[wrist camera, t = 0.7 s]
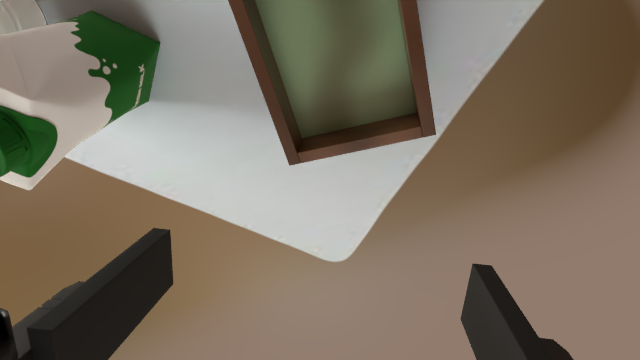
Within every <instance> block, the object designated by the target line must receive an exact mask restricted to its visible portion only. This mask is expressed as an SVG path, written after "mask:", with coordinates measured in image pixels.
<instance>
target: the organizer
mask: <svg viewBox="0 0 640 360" xmlns="http://www.w3.org/2000/svg"><path fill="white" fill-rule="evenodd" d="M228 1H229V4H230V6H231V9H232V12H233V14H234V17H235V20H236V23H237V25H238V28H239V31H240V33H241V36H242V39H243V41H244V44H245V47H246V50H247V52H248V55H249V58H250V60H251V63H252V66H253V68H254V71H255V74H256V76H257V79H258V82H259V85H260V87H261V90H262V93H263V95H264V98H265V101H266V103H267V106H268V109H269V111H270V114H271V117H272V120H273V122H274V125H275V128H276V130H277V133H278V136H279V138H280V141H281V144H282V146H283V149H284V152H285V155H286V157H287V160H288V163H289V165H294V164H299V163H304V162H309V161H313V160H318V159H323V158H327V157H332V156H337V155H342V154H346V153H351V152H356V151H361V150H365V149H370V148H375V147H380V146H384V145H389V144H394V143H399V142H403V141H408V140H413V139H418V138H422V137H427V136H432V135H436V132H435V125H434V118H433V111H432V104H431V97H430V90H429V83H428V76H427V70H426V63H425V56H424V49H423V42H422V35H421V28H420V21H419V14H418V7H417V0H228Z"/></svg>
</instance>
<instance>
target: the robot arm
mask: <svg viewBox="0 0 640 360" xmlns="http://www.w3.org/2000/svg"><path fill="white" fill-rule="evenodd" d="M172 285H173V271H172V254H171V237H170V230H166V229H158V228H157V229H156V228H153V229H152V230H151V231H149V232H148V233H147V234H145V235H144V236H143V237H142V238H140V239H139V240H138V241H137V242H135V243H134V244H133V245H131V246H130V247H129V248H128V249H126V250H125V251H124V252H123V253H121V254H120V255H119V256H117V257H116V258H115V259H114V260H112V261H111V262H110V263H109V264H107V265H106V266H105V267H103V268H102V269H101V270H99V271H98V272H97V273H96V274H94V275H93V276H92V277H91V278H89V279H88V280H87V281H86V282H80V281H79V282H77V283H75V284H73V285H70V286H68V287H66V288H64V289H62V290H61V291H60V292H58V293H57V294H56V295H54V296H53V297H52V298H51V300H48V301H47V302H45V303H44V304H42V305H41V307H39V308H37V309H36V310H34V311H33V312H32V313H30V314H29V315H28V316H26V317H25V318H24V319H23V320H21V321H20V322H18V323H17V324H16V325H14V326H13V327H12V325H11V321H10V317H9V313H8V311H7V310H4V309H2V308H0V360H108V359H109V358H110V357H111V355H112V354H113V353H114V352H115V351H116V350H117V348H118V347H119V346H120V345H121V344H122V343H123V342H124V340H125V339H126V338H127V337H128V336H129V335H130V333H131V332H132V331H133V330H134V329H135V327H136V326H137V325H138V324H139V323H140V322H141V321H142V319H143V318H144V317H145V316H146V315H147V314H148V312H149V311H150V310H151V309H152V308H153V307H154V306H155V304H156V303H157V302H158V301H159V300H160V298H161V297H162V296H163V295H164V294H165V293H166V292H167V290H168V289H169V288H170V287H171V286H172ZM461 321H462V324H463V326H464V329H465V331H466V334H467V336H468V339H469V342H470V344H471V347H472V349H473V351H474V354H475V357H476V359H477V360H573V359H572V357H571V356H570V354H569V353H568V352H567V351H566V350H565V349H564V348H563V347H561V346H560V345H559V344H557V342H555V341H554V340H552V339H544V338H539V337H538V336H537V334H536V332H535V331H534V330H533V328H532V326H531V325H530V323H529V322H528V320H527V319H526V317H525V316H524V314H523V313H522V311H521V310H520V308H519V307H518V305H517V304H516V302H515V301H514V299H513V298H512V296H511V294H510V293H509V291H508V290H507V288H506V287H505V285H504V284H503V282H502V281H501V279H500V278H499V276H498V275H497V273H496V272H495V270H494V269H493V267H492V266H490V265H481V264H472V269H471V274H470V278H469V283H468V287H467V292H466V297H465V301H464V306H463V311H462V316H461Z"/></svg>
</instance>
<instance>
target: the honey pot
mask: <svg viewBox="0 0 640 360" xmlns="http://www.w3.org/2000/svg"><path fill="white" fill-rule="evenodd" d="M45 25H47V23H46V20H45V18H44V15H43V13H42V11H41V10H40V8H39V6H38V5H37V3H36V1H35V0H0V35H4V34H9V33H13V32H18V31H22V30H27V29H32V28H36V27H40V26H45Z"/></svg>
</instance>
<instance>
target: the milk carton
mask: <svg viewBox="0 0 640 360" xmlns="http://www.w3.org/2000/svg"><path fill="white" fill-rule="evenodd" d="M159 46H160V42H159V41H156V40H154V39H152V38H150V37H148V36H146V35H143V34H141V33H139V32H137V31H135V30H133V29H130V28H128V27H126V26H124V25H122V24H120V23H117V22H115V21H113V20H111V19H109V18H107V17H104V16H102V15H100V14H98V13H96V12H94V11H89V12H87V13H84V14H81V15H79V16H76V17H74V18H71V19H68V20H66V21H63V22H58V23H54V24H49V25H45V26H40V27H36V28H32V29H27V30H22V31H18V32H13V33H9V34H4V35H0V180H2V181H5V182H7V183H10V184H13V185H15V186H18V187H21V188H24V189H26V190H31V189H32V188H33V187H34V186H35V185H36V184H37V183H38V182H39V181H40V180H41V179H42V178H43V177H44V176H45V175H46V174H47V173H48V172H49V171H50V170H51V169H52V168H53V167H54V166H55V165H56V164H57V163H58V162H59V161H60V160H61V159H62V158H63V157H64V156H65V155H66V154H67V153H68V152H69V151H70V150H71V149H73V148H74V147H75V146H77V145H78V144H80V143H81V142H83V141H84V140H86V139H87V138H89V137H90V136H92V135H93V134H95V133H96V132H98V131H99V130H101V129H102V128H104V127H105V126H107V125H108V124H110V123H111V122H113V121H114V120H116V119H117V118H119V117H120V116H122V115H123V114H125V113H127V112H129V111H130V110H132V109H134V108H136V107H138V106H140V105H142V104H144V103H146V102H148V101H149V96H150V91H151V86H152V81H153V76H154V71H155V66H156V61H157V56H158V51H159Z"/></svg>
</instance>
